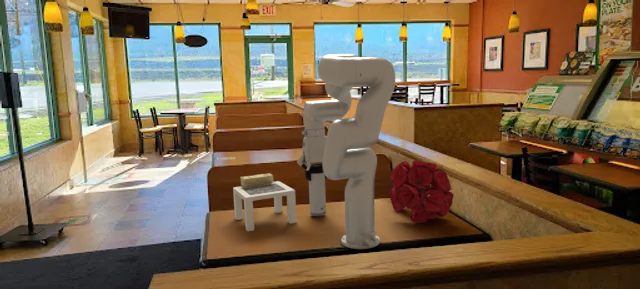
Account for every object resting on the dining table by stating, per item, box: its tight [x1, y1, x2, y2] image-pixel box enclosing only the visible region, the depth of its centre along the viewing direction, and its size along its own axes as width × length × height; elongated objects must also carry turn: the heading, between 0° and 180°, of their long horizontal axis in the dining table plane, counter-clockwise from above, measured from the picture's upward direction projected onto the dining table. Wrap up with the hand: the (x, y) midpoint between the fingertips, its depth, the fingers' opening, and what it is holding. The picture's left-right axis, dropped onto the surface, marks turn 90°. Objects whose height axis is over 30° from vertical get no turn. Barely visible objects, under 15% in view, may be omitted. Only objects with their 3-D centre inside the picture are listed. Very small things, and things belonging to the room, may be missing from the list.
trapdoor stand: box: [232, 180, 298, 232], centre depth 170 cm, size 18×19×12 cm
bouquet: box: [389, 159, 454, 224], centre depth 167 cm, size 22×24×30 cm
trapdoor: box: [240, 172, 284, 195], centre depth 171 cm, size 16×13×4 cm
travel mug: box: [308, 163, 327, 217], centre depth 173 cm, size 6×7×20 cm
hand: (316, 178), depth 172 cm, fingers closed on travel mug, 6 cm apart
